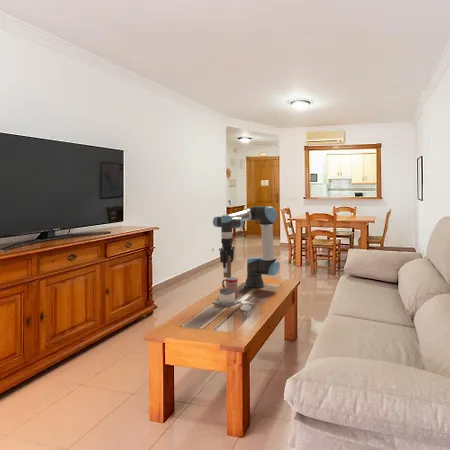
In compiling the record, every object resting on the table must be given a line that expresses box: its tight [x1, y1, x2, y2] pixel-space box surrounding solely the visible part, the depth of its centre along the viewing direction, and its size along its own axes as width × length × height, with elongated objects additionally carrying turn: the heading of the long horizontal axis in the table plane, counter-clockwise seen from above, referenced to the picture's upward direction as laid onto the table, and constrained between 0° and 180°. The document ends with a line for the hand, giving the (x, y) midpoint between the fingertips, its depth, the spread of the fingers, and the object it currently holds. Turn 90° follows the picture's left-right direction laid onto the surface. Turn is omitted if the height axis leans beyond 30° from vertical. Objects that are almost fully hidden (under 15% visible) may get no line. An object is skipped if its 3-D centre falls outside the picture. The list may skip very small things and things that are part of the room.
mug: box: [221, 276, 239, 298], centre depth 308 cm, size 13×9×14 cm
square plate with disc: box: [212, 286, 242, 308], centre depth 290 cm, size 14×14×10 cm
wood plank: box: [223, 255, 232, 279], centre depth 288 cm, size 3×4×15 cm
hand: (227, 272), depth 288 cm, fingers closed on wood plank, 3 cm apart
